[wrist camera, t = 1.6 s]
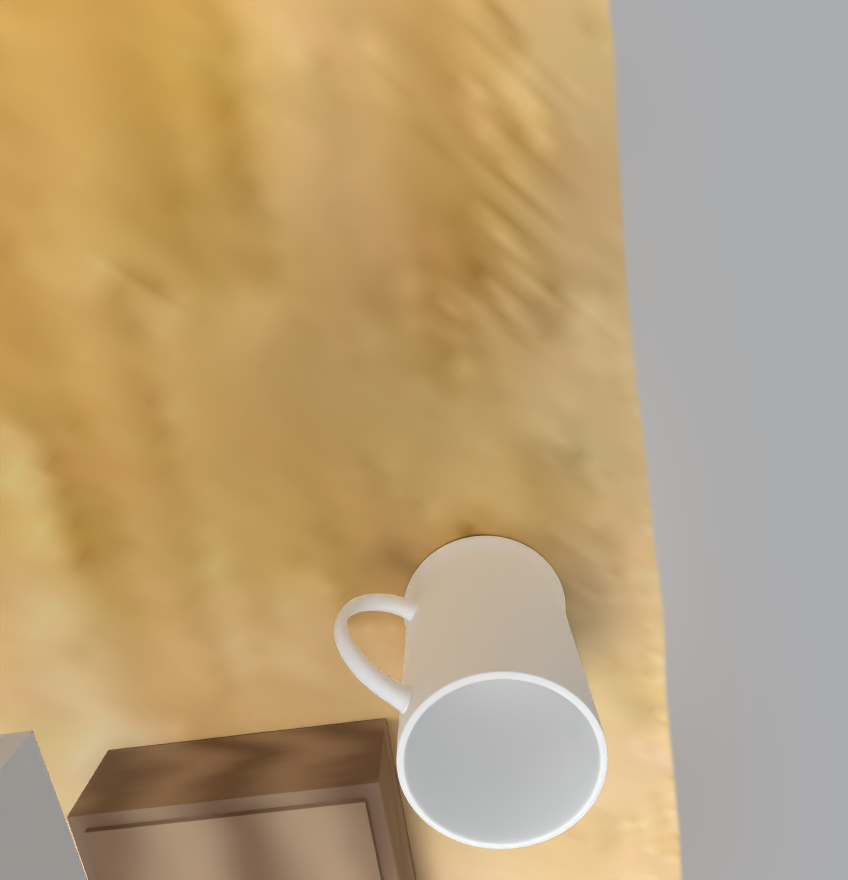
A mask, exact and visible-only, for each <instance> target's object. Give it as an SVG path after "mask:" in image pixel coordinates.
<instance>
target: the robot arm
mask: <svg viewBox="0 0 848 880" xmlns="http://www.w3.org/2000/svg"><path fill="white" fill-rule="evenodd" d="M0 880H87V878H86V875H85V872H84V870H83V867H82V864H81V861H80V859H79V856H78V853H77V851H76V848H75V845H74V842H73V840H72V837H71V834H70V831H69V829H68V826H67V823H66V820H65V818H64V815H63V812H62V810H61V807H60V804H59V801H58V799H57V796H56V793H55V790H54V788H53V785H52V782H51V779H50V777H49V774H48V771H47V769H46V766H45V763H44V760H43V758H42V755H41V752H40V749H39V747H38V744H37V741H36V738H35V736H34V733H33V731H27V732H20V733H12V734H5V735H0Z"/></svg>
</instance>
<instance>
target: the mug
mask: <svg viewBox="0 0 848 880" xmlns="http://www.w3.org/2000/svg"><path fill="white" fill-rule="evenodd" d="M362 611H383V612H389V613H393V614H396V615H399V616H401V617H403V618H404V623H405V627H406V640H405V653H404V665H403V678H402V682H400V681H398V680H396V679H394V678H392V677H390V676H389V675H387V674H385V673H384V672H383V671H381V670H380V669H379V668H377V667H376V666H375V665H374V664H372V663H371V662H370V661H369V660H368V659H367V658H366V657H365V656H364V655H363V654H362V653H361V651H360V650H359V649H358V648H357V646H356V645H355V643H354V642H353V640H352V638H351V636H350V634H349V631H348V627H347V620H348V618H349V617H350V616H352V615H353V614H356V613H358V612H362ZM334 637H335V642H336V646H337V648H338V651H339V653H340V655H341V657H342V659H343V660H344V662H345V663H346V665H347V666H348V667H349V669H350V670H351V671H352V672H353V674H354V675H355V676H356V677H357V678H358V679H359V680H360V681H361V682H362V683H363V684H364V685H365V686H366V687H367V688H369V689H370V690H371V691H372V692H374V693H375V694H376V695H377V696H379V697H380V698H382V699H383V700H385V701H386V702H388V703H389V704H391V705H392V706H393V707H395V708H396V709H397V710H398V711H399V712H400V715H399V728H398V740H397V755H396V764H397V773H398V778H399V782H400V785H401V788H402V791H403V793H404V795H405V797H406V799H407V800H408V802H409V804H410V805H411V807H412V808H413V809H414V810H415V812H416V813H417V814H418V815H419V816H420V817H421V818H422V819H423V820H424V821H425V822H426V823H427V824H429V825H430V826H431V827H432V828H434V829H435V830H437V831H438V832H440V833H442V834H443V835H445V836H447V837H449V838H451V839H454V840H456V841H459V842H462V843H465V844H468V845H472V846H477V847H483V848H492V849H510V848H519V847H525V846H529V845H533V844H537V843H540V842H543V841H546V840H548V839H550V838H553V837H555V836H557V835H558V834H560V833H562V832H564V831H565V830H567V829H568V828H570V827H571V826H572V825H574V824H575V823H576V822H577V821H578V820H580V819H581V818H582V817H583V816H584V815H585V814H586V812H587V811H588V810H589V809H590V808H591V806H592V805H593V803H594V802H595V800H596V799H597V797H598V795H599V793H600V791H601V789H602V786H603V784H604V780H605V777H606V772H607V763H608V755H607V746H606V741H605V737H604V733H603V730H602V727H601V723H600V720H599V717H598V714H597V711H596V708H595V705H594V701H593V698H592V695H591V692H590V689H589V686H588V683H587V679H586V676H585V673H584V670H583V667H582V664H581V660H580V657H579V654H578V651H577V648H576V645H575V642H574V638H573V635H572V632H571V629H570V626H569V623H568V620H567V616H566V602H565V595H564V591H563V588H562V585H561V582H560V580H559V578H558V576H557V574H556V573H555V571H554V570H553V568H552V567H551V566H550V564H549V563H548V562H547V561H546V560H545V559H544V558H543V557H542V556H541V555H539V554H538V553H537V552H536V551H534V550H533V549H531V548H529V547H528V546H526V545H524V544H522V543H520V542H517V541H514V540H511V539H508V538H504V537H498V536H473V537H467V538H463V539H459V540H456V541H453V542H451V543H449V544H447V545H445V546H443V547H441V548H439V549H438V550H436V551H435V552H433V553H432V554H431V555H430V556H428V557H427V558H426V559H425V560H424V561H423V562H422V563H421V564H420V566H419V567H418V568H417V570H416V571H415V572H414V574H413V576H412V578H411V580H410V582H409V584H408V587H407V589H406V593H405V597H402V596H397V595H392V594H383V593H371V594H364V595H360V596H357V597H355V598H353V599H351V600H350V601H348V602H347V603H346V604H345V605H344V606H343V607H342V609H341V610H340V612H339V613H338V616H337V618H336V621H335V626H334Z"/></svg>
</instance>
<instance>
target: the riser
mask: <svg viewBox="0 0 848 880" xmlns="http://www.w3.org/2000/svg"><path fill="white" fill-rule="evenodd" d="M67 818H68V821H69V824H70V827H71V830H72V833H73V836H74V839H75V842H76V845H77V848H78V851H79V854H80V857H81V860H82V862H83V865H84V868H85V871H86V874H87V877H88V880H416V876H415V871H414V865H413V860H412V855H411V850H410V844H409V839H408V834H407V829H406V823H405V818H404V813H403V807H402V802H401V797H400V792H399V786H398V781H397V776H396V771H395V765H394V760H393V755H392V750H391V744H390V739H389V734H388V729H387V723H386V718H385V719H377V720H368V721H360V722H351V723H342V724H334V725H325V726H317V727H308V728H299V729H291V730H282V731H274V732H265V733H256V734H248V735H239V736H231V737H222V738H213V739H205V740H196V741H188V742H179V743H170V744H162V745H153V746H144V747H136V748H127V749H119V750H110V751H108V752H107V754H106V755H105V757H104V758H103V760H102V762H101V763H100V765H99V766H98V768H97V770H96V771H95V773H94V775H93V776H92V778H91V779H90V781H89V783H88V784H87V786H86V787H85V789H84V791H83V792H82V794H81V796H80V797H79V799H78V800H77V802H76V804H75V805H74V807H73V808H72V810H71V812H70V813H69V815H68V817H67Z"/></svg>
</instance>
